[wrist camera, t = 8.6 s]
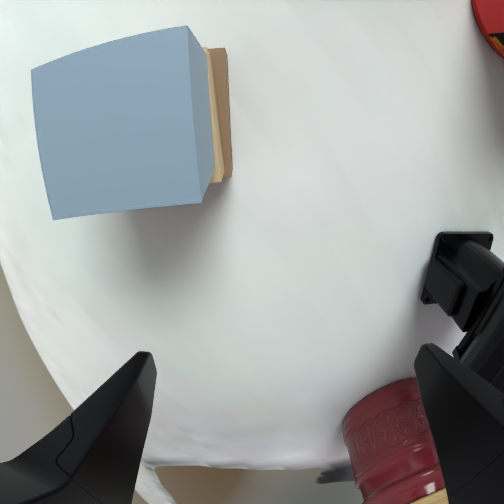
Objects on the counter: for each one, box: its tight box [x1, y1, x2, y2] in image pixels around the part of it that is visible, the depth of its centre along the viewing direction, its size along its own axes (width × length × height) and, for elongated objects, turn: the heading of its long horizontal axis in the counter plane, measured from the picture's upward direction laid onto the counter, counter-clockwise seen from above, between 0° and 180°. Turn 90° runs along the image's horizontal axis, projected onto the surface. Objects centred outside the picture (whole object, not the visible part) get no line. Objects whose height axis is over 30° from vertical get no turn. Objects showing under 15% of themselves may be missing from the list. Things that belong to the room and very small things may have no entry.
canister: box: [343, 378, 449, 504], centre depth 23 cm, size 13×13×18 cm
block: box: [31, 26, 215, 220], centre depth 10 cm, size 5×5×5 cm
